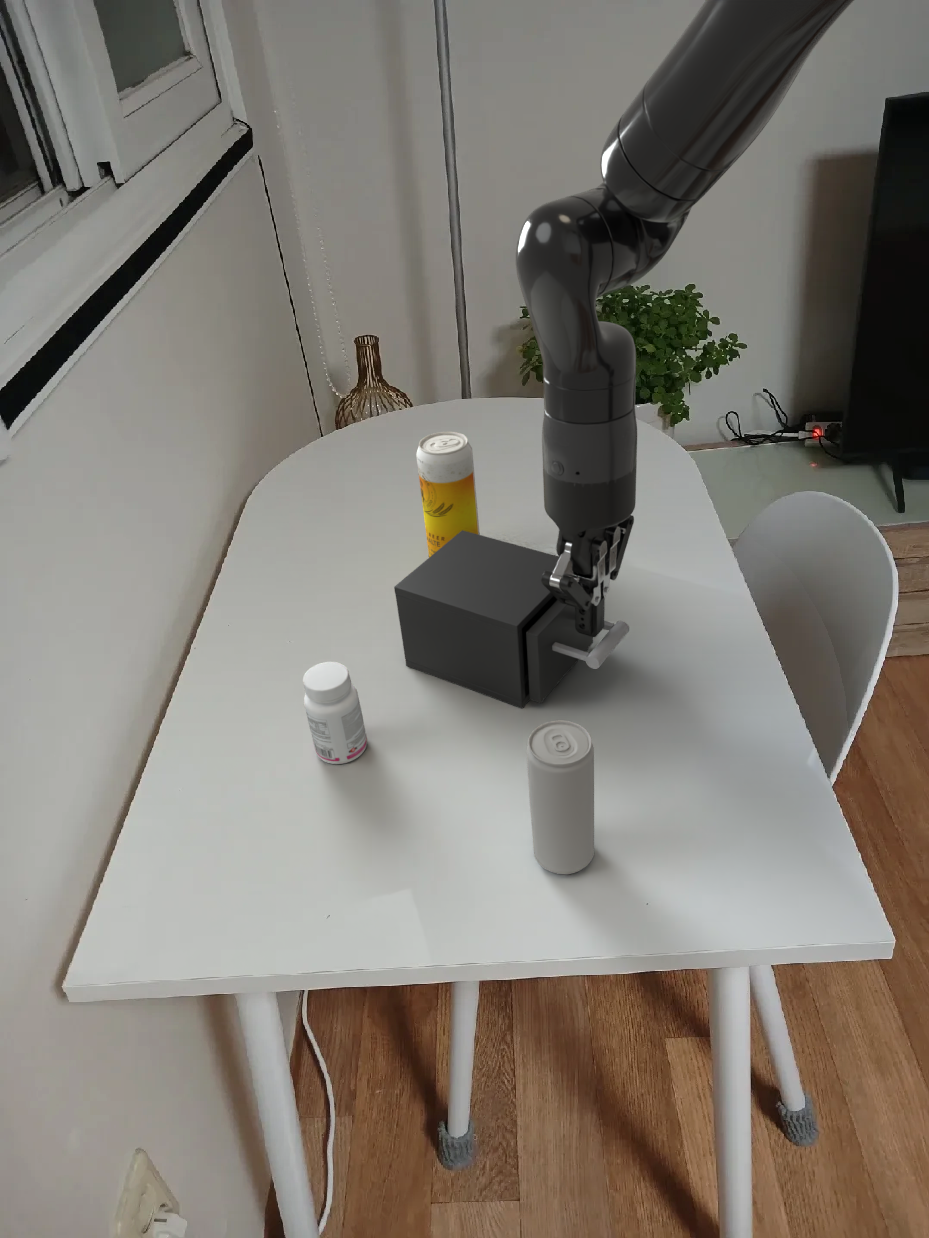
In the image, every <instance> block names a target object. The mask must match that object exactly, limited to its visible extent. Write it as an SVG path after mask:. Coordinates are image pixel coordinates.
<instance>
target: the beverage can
mask: <svg viewBox="0 0 929 1238" xmlns="http://www.w3.org/2000/svg"><path fill="white" fill-rule="evenodd" d="M526 764H527V765H526V766H527V781H528V798H529V811H530V823H531V832H532V833H531V835H532V836H531V837H532V850H533V857H534V859H535V860H536V862H537V864H538V865H540V866H541V867H542V868H543V869H544V870H547V871H549V872H551V873H553V874H558V875H570V874H575V873H577V872H580V871H582V870H583V869H585V868H586V867H587V866H589V864H590V863H591V862H592V860H593V858H594V855H595V747H594V744H593V739H592V736H591V734H590V732H588V730H587V729H586V728H585V727H583V725H580V724H578V723H576V722H574V721H569V720H558V719H557V720H551V721H547V722H544V723H542V724H540V725H538V726H537V727H536V728H534V729H533V730H532V731H531V733H530V734H529V736H528V739H527V744H526Z"/></svg>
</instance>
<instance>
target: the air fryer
mask: <svg viewBox="0 0 929 1238" xmlns="http://www.w3.org/2000/svg"><path fill="white" fill-rule="evenodd" d="M559 558H560V557H559V555H556V554H552V553H548V552H544V551H541V550H536V549H533V548H529V547H526V546H522V545H518V544H515V543H511V542H508V541H503V540H500V539H496V538H493V537H489V536H485V535H481V534H480V535H478V534H474V533H471V532H467V531H463V530H462V531H461V532H459V533H458V534H457V535H456V536H455V537H453V538H452V539H451V540H450V541H449V542H447V543H446V544H445V545H444V546H443V547H441V548H440V549H439V550H438V551H437V552H435V553H434V554H433V555H432V556H431V557H429V556H428V558H426V560H424V561H423V562H422V563H421V564H419V565H418V566H417V567H416V568H415V569H414V570H412V571H411V572H410V573H408V575H406V576H405V577H404V578H403V579H402V580H401V581H399V582H398V583H396V585H394V586H393V587H394V594H395V595H394V596H395V601H396V607H397V615H398V620H399V627H400V633H401V640H402V647H403V654H404V659H405V661H404V662H405V666H407V667H409V668H411V669H414V670H416V671H419V672H422V673H425V674H428V675H430V676H433V677H435V678H437V679H440V680H444V681H447V682H449V683H451V684H455V685H457V686H460V687H462V688H465V689H468V690H470V691H473V692H476V693H479V694H482V695H484V696H487V697H490V698H493V699H495V700H498V701H501V702H503V703H507V704H508V705H512V706H514V707H517V708H519V709H523V708H524V707H525V706H526V704H528V703H529V701H531V700H530V694H529V680H528V681H527V682H526V683H525V678H524V661H523V644H522V628H523V627H524V626H525V625H526V624H527V623H528V622H529V621H530V620H531V619H532V618H533V617H534V616H535V615H536V614H537V613H538V612H539V610H540V609H541V608H542V607H543V606H544V605H545V604H546V603H547V602H548V601H549V600H550V599H551V598H552V597H553V596H554V595H553V594H552V593H551V592H550V591H549V590H548V589H547V588H546V587H545V586H544V585H543V584H542V582H541V579H542V575H543V573H544V571H546V570H548V571H553V570H555V567H556V565H557V562H558V560H559Z"/></svg>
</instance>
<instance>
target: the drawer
mask: <svg viewBox="0 0 929 1238" xmlns="http://www.w3.org/2000/svg"><path fill="white" fill-rule="evenodd" d="M602 630H605V631H607V633H606V634H605V635H604V636H603V637H602V638H601V640H600V641H599V642H598V643H597V644H596V645H595V647H593V648H592V650H591V651H590V652H587V651H588V649H589V648H591V646H592V645H593V643H594V637H591V636H587V635H584V634H581V633H579V632H577V630H576V628H575V607H573V606H569V605H566V604H563V603H561V602H560V601H559V600H558V599H557V598H556V597H555V596H553V597H552V598H551V599H550V600H549V601H548V602H547V603H546V604H545V605H544V606H543V607H542V608H541V609H540V610H539V612H538V613H537V614H536V615H535V616H534V617H533V618H532V619H531V620H530V621H529V622H528V623H527V624H526V625H525V626H524V627H523V628H522V644H523V661H524V678H525V683H526V682H527V681H528V680H529V694H530V700H529V701H533V702H536V703H538V704H542V703H543V702H544V701H545V699H546V698H547V697H548V695H550V693H551V692H552V691H553V690H554V688H555V687H556V686H557V685H558V684H559V683H560V682H561V681H562V679H563V678H564V677H565V676H566V675H567V673H569V671H570V670H571V669H572V668H573V667H574V666H575V664H577V662H578V661H579V660H581V661H584V662H585V663H586V665H587V666H588V667H589V668H591V669H594V670H596V669H599V668H600V666H601V665H602V664H603V663H604V662H605V661H606V659H608V657H609V656H610V655H611V654H612V653H613V651H614V650H615V649H616V647H617V646H618V645H619V644H620V643H621V641H622V640H623V639H624V638H625V637H626V635H627V634H628V633H629V632H630V626H629V624H628V623H627V622H626V621H624V620H618V621H616V622H615V623H614V622H611V621H607V620H604V628H603V629H602Z"/></svg>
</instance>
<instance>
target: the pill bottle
mask: <svg viewBox="0 0 929 1238" xmlns="http://www.w3.org/2000/svg"><path fill="white" fill-rule="evenodd" d="M302 683H303V689H304V692H305V694H304V696H303V697H304V698H303V705H304V710H305V715H306V718H307V724H308V726H309V727H308V728H309V730H310V734H311V738H312V742H313V743H312V744H313V746H314V750H315V753H316V755H317V757H318V758H319V759H320V760H321V761H323V762H324V763H327V764H332V765H340V764H346V763H350V762H353V761H354V760H356V759H358V758H359V757H360V756H361V755H362V754H363V753H364V752H365V750H366V748H367V744H368V737H367V732H366V726H365V722H364V715H363V713H362V712H363V711H362V706H361V702H360V697H359V693H358V689H357V688H356V686H355V685H354V683H352V678H351V675H350V672H349V669H348V668H347V666H346V665H344V664H342V663H340V662H337V661H324V662H320V663H317V664H314V665H313V666H311V667H310V668H308V670H306V672H305V673H304V674H303V677H302Z"/></svg>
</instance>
